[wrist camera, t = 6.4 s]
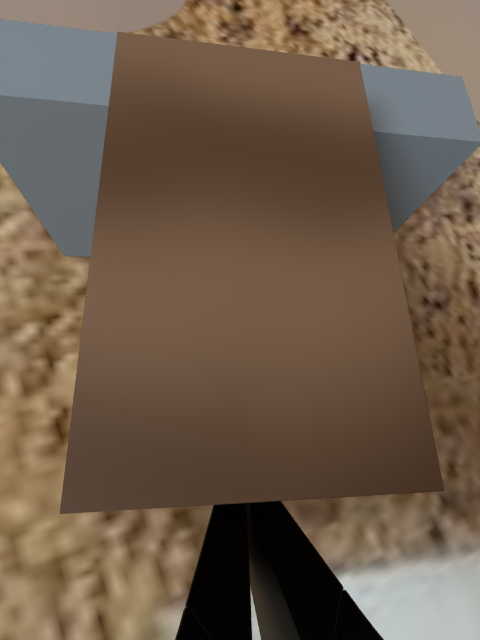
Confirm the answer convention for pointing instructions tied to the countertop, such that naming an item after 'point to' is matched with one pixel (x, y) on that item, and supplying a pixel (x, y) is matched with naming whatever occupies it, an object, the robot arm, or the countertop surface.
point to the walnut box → (242, 292)
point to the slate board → (92, 109)
